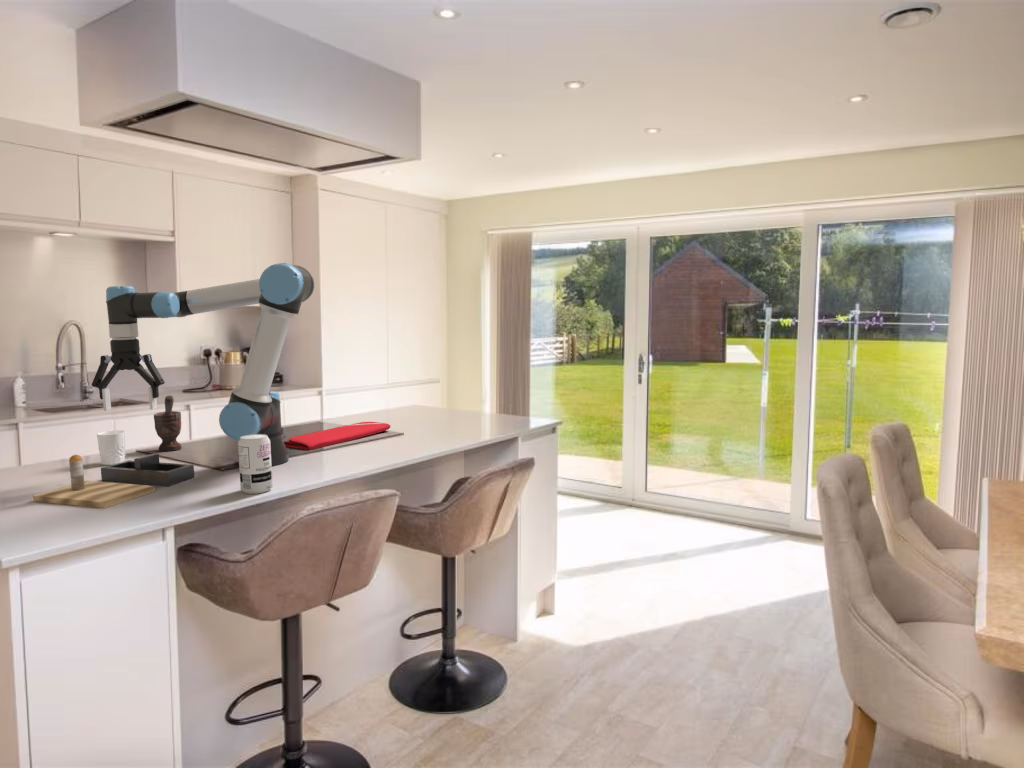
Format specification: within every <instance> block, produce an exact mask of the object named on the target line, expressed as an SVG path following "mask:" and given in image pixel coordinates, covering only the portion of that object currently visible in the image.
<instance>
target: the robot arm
mask: <svg viewBox="0 0 1024 768" xmlns="http://www.w3.org/2000/svg"><path fill="white" fill-rule="evenodd" d="M314 289H315V282H314V277H313V275H312V274H311V272H310V271H309V270H307V269H306V268H304V266H300V265H296V264H291V263H286V262H278V263H275V264H271V265H270V266H267V268H265V269H264V270H263V272H262V273H261V275H260V277H259V278H258V279H257V278H256V279H251V280H245V281H244V280H243V281H238V282H234V283H226V284H221V285H219V284H218V285H214V286H209V287H204V288H203V287H202V288H201V287H200V288H196V289H191V290H183V291H178V292H171V291H170V292H168V291H158V292H157V291H156V292H154V291H153V292H136V291H135V287H134V286H131V285H130V286H129V285H128V286H127V285H123V286H117V285H116V286H108V287H106V289H105V294H106V295H105V297H106V299H105V300H106V301H105V303H106V310H107V320H108V329H109V330H108V332H109V333H108V335H109V338H110V339H111V340H110V341H109V342H110V343H109V345H110V352H111V356H110V355H108V354H106V355H105V354H104V355H100V359H99V360H100V364H99V365H98V368H97V370H96V373H95V375H94V378H93V380H92V383H91V387H93V388H97V389H98V391H99V399H100V400H102V405H103V406H102V407H103V412H105V411H106V412H107V411H110V410H112V404H111V403H112V402H111V392H110V387H108V386H109V384H110V383H111V382H112V380H113V379H114V378H115V376H116V375H117V374H118V372H119V371H135V372H136V373H138V374H139V376H140V377H141V378H142V379H143V380H144V381H145V382H146V383H147V384H148V385H149V387H148V398H149V399H148V400H149V410H151V411H152V410H155V409H157V408H158V404H157V398H159V397H160V394H159V387H160V386H162V385H164V384H165V382H166V381H165V380H164V378H163V377H162V375H161V373H160V372H159V370H158V368H157V367H156V365H155V363H154V362H153V358H152V355H151V354H150V353H147V354H142V355H141V354H140V350H141V347H140V340H139V339H138V337H139V328H138V319H159V318H160V319H168V318H185V317H187V316H191V315H197V314H203V313H209V312H215V311H216V312H217V311H222V310H228V309H235V308H240V307H245V306H255V305H259V306H260V309H261V310H260V311H261V312H260V315H259V319H258V321H257V324H256V328H255V332H254V335H253V338H252V341H251V345H250V348H249V351H248V354H247V356H248V357H247V359H246V361H245V365H244V368H243V372H242V375H241V379H240V381H239V385H238V386H237V387H235V388H233V389H232V390H231V394H230V397H229V400H228V403H227V404H226V405H224V407H223V408H222V410H221V411H220V413H219V417H218V422H219V427H220V428H221V430H222V432H223V433H224V434H225V436H227V437H228V438H230V439H233V440H236V441H239V440H240V437H242V436H245V435H252V434H265V435H267V436H268V438H269V440H270V446H271V464H272V466H276V465H277V466H278V465H281V464H284V463H287V462H288V461H289V451H288V450H287V447H286V446H285V444H284V441H285V440H284V439H283V435H282V415H281V413H282V412H281V403H282V401H281V399H280V394H279V392H278V391H274V390H273V391H270V390H271V387H272V383H273V380H274V376H275V374H276V370H277V367H278V364H279V360H280V357H281V353H282V350H283V348H284V344H285V340H286V337H287V333H288V332H289V326H290V324H291V320H292V319H293V318H295V317H297V316H298V315H299V313H300V309H301V306H302V303H304V302H305V301H307V300H309V299H310V298H311V296H312V294H313V292H314ZM110 362H112V363H113V365H112V366H111V367H110V369H109V371H108V372H107V370H108V366H109V363H110ZM140 362H143V363H144V364H145V366H146V368H147V370H148V371H147V370H146V369H145V367H144V366H143V365H142V364H141V363H140ZM106 372H107V374H106ZM105 374H106V375H105Z"/></svg>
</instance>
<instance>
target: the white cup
mask: <svg viewBox="0 0 1024 768" xmlns="http://www.w3.org/2000/svg"><path fill="white" fill-rule="evenodd" d="M96 438H97V444H98V445H97V446H98V452H99V456H100V463H101V464H102V465H103V466H110V465H113V464H117V463H121V462H124V461H126V431H125V430H107V431H106V430H105V431H100V432H98V433H96Z"/></svg>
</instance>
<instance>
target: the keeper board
mask: <svg viewBox="0 0 1024 768" xmlns="http://www.w3.org/2000/svg"><path fill="white" fill-rule="evenodd" d="M68 461H69V462H68V463H69V473H70V485H66V486H62V487H59V488H56V489H52V490H48V491H44V492H41V493H37V494H34V495H32V499H33V500H32V501H33V502H36V501H38V502H39V503H49V504H60V505H70V506H80V507H89V508H90V507H92V508H100V509H106V508H108V507H109V508H110V507H113V506H115V505H118V504H121V503H124V502H127V501H130V500H133V499H134V500H135V499H137V498H139V497H143V496H145V495H148V494H151V493H154V492H156V491H155V490H156V489H155V486H153V485H141V484H128V483H116V482H104V481H97V480H96V481H95V480H85V476H84V463H83V457H82V456H81V455H79V454H73V455H71V456H70V457H69V460H68Z"/></svg>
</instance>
